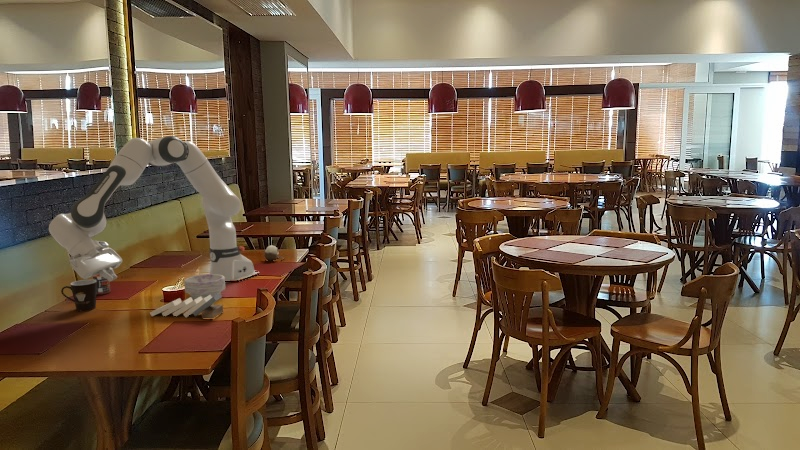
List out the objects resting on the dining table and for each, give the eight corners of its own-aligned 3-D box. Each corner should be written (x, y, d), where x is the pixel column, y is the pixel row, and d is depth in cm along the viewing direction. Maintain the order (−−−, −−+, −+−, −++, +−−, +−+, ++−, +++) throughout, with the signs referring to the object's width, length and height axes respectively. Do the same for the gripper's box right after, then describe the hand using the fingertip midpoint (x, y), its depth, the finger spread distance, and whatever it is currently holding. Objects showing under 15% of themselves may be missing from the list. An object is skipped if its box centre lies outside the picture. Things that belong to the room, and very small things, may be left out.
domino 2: (161, 313, 211) (184, 300, 209) (169, 308, 216) (191, 296, 214) (163, 317, 211) (186, 304, 209) (171, 312, 216) (193, 300, 214)
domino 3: (172, 313, 210) (194, 299, 208) (179, 309, 215) (201, 296, 213) (174, 317, 210) (196, 303, 208) (182, 313, 215) (203, 299, 213)
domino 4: (183, 314, 209) (203, 298, 207) (190, 309, 214) (210, 294, 212) (185, 317, 210) (206, 302, 207) (192, 313, 214) (212, 298, 212)
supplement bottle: (104, 295, 240) (101, 267, 238) (91, 294, 241) (88, 267, 239) (113, 291, 246) (111, 264, 244) (101, 290, 247) (98, 264, 245)
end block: (202, 319, 207) (201, 311, 207) (212, 312, 215) (212, 304, 214) (213, 320, 206) (212, 311, 206) (223, 313, 214) (222, 305, 214)
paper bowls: (214, 290, 246) (213, 271, 244) (233, 297, 235) (231, 277, 234) (178, 297, 235) (177, 278, 234) (196, 305, 224) (195, 284, 223)
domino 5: (192, 312, 209) (213, 296, 207) (199, 308, 214) (219, 293, 212) (195, 316, 209) (216, 300, 207) (202, 312, 214) (222, 296, 212)
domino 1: (149, 312, 211) (172, 301, 209) (157, 308, 216) (180, 297, 214) (151, 316, 212) (174, 305, 209) (159, 312, 216) (182, 301, 214)
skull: (261, 255, 308) (274, 241, 306) (277, 268, 308) (289, 254, 307) (255, 259, 296) (268, 244, 294) (270, 273, 296) (284, 258, 295)
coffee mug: (104, 306, 225) (101, 280, 223) (85, 312, 217) (83, 286, 215) (80, 303, 229) (77, 278, 227) (61, 310, 221) (58, 283, 219)
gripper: (71, 251, 203) (100, 280, 203) (109, 241, 223) (135, 267, 223) (61, 264, 205) (89, 293, 205) (99, 252, 225) (125, 278, 225)
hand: (113, 279), depth 214 cm, fingers closed
